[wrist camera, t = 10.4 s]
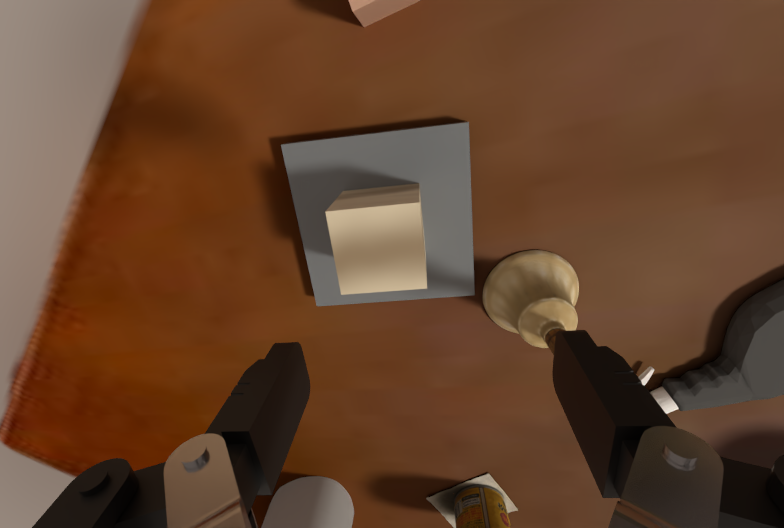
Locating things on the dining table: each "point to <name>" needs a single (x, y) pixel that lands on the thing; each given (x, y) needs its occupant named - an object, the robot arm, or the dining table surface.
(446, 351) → the dining table surface
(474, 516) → the condiment
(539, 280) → the hand bell
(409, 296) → the slate tile
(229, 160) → the dining table surface
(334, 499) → the lumpy-topped squat cylinder
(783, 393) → the spray bottle
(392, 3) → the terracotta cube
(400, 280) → the birch cube
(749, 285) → the dining table surface
